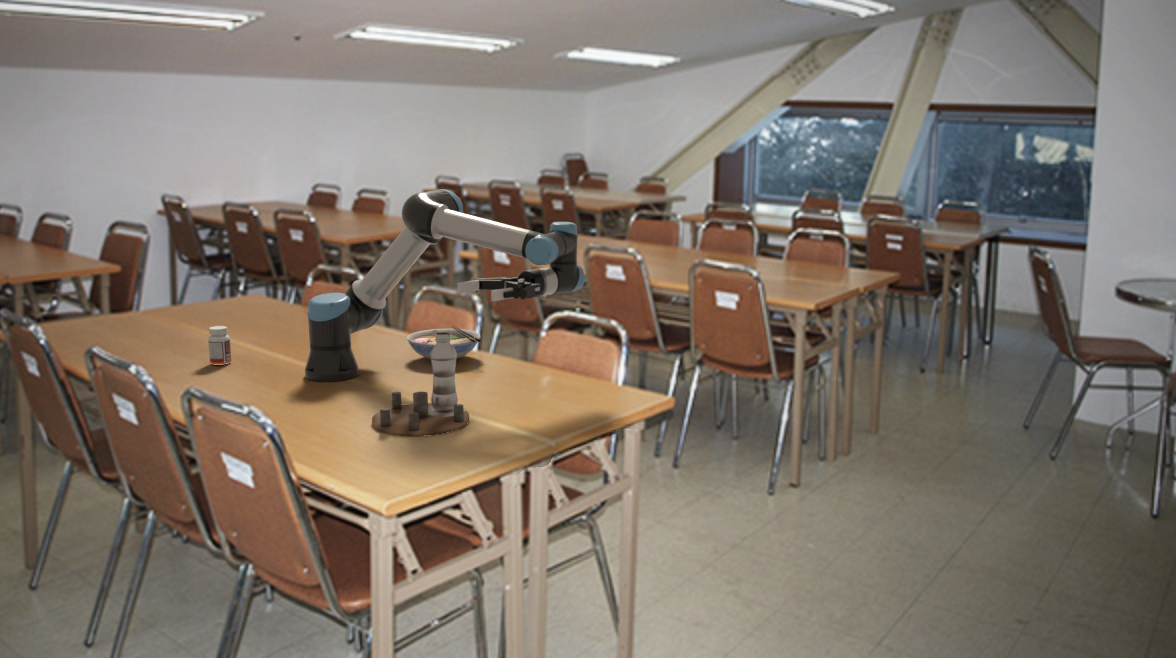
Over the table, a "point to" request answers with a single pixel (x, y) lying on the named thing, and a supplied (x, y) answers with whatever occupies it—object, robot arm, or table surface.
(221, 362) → the pill bottle
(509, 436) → the table surface
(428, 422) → the board
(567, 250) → the robot arm
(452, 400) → the plastic bottle
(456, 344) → the ramen bowl
